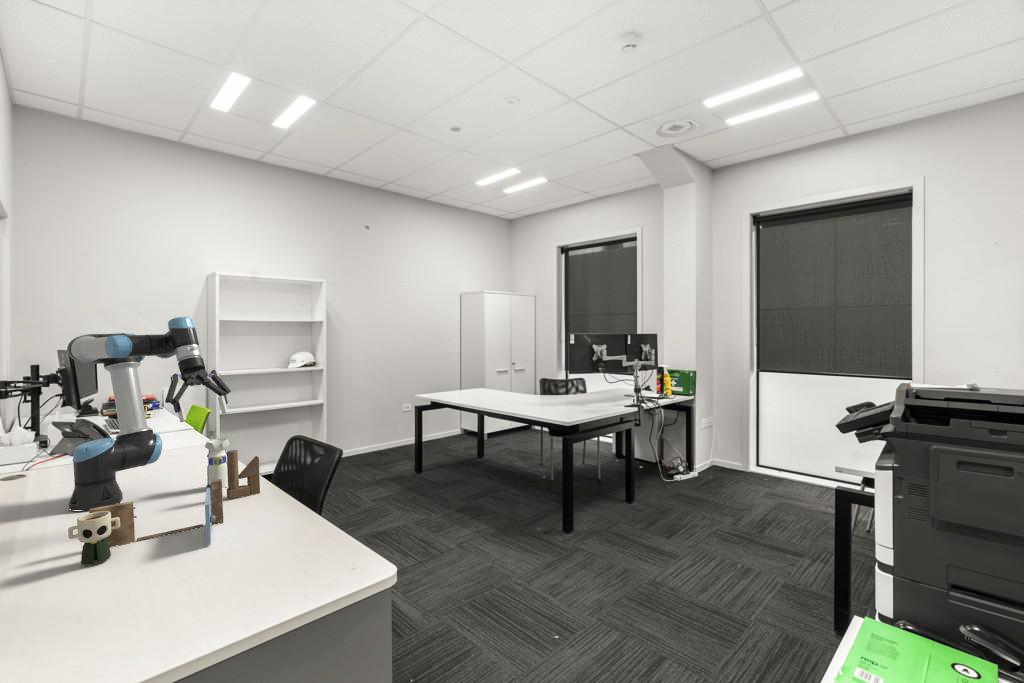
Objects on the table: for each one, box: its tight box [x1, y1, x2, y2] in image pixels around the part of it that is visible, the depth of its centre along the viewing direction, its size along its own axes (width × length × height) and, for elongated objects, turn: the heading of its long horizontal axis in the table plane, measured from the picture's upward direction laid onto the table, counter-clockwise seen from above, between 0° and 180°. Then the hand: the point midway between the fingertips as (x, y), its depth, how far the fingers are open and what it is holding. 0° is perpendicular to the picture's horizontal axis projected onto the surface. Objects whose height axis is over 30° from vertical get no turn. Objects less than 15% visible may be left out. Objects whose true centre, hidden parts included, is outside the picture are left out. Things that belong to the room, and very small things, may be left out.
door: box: [204, 488, 215, 546], centre depth 150 cm, size 18×2×12 cm, turn 31°
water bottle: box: [204, 428, 230, 489], centre depth 196 cm, size 8×9×25 cm
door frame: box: [88, 479, 224, 548], centre depth 151 cm, size 33×2×14 cm, turn 126°
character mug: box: [67, 511, 120, 566], centre depth 134 cm, size 11×7×13 cm, turn 130°
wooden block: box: [226, 449, 261, 500], centre depth 186 cm, size 4×11×18 cm, turn 134°
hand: (205, 417), depth 166 cm, fingers open, 13 cm apart
